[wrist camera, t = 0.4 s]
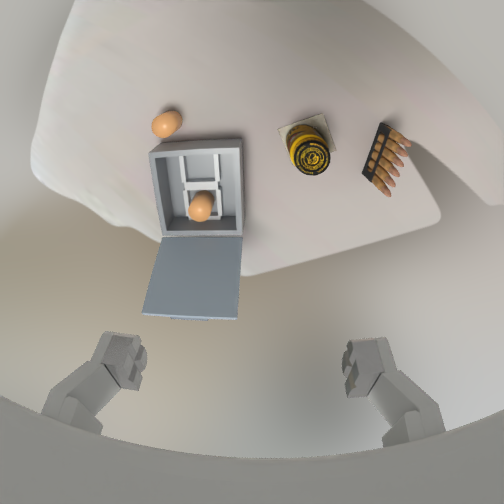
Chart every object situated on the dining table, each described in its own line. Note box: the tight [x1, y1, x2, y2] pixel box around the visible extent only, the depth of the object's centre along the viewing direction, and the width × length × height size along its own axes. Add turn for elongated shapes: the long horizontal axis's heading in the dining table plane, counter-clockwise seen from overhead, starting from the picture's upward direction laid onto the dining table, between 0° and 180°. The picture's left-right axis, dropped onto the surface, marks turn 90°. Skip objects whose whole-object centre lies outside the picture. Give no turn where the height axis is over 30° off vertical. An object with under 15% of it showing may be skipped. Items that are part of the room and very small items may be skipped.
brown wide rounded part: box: [152, 111, 182, 138], centre depth 45 cm, size 4×4×5 cm
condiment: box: [278, 113, 336, 175], centre depth 44 cm, size 7×8×12 cm
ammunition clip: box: [362, 123, 412, 197], centre depth 44 cm, size 11×2×12 cm, turn 167°
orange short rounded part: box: [188, 190, 215, 222], centre depth 53 cm, size 4×4×5 cm
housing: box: [149, 139, 245, 235], centre depth 51 cm, size 16×15×6 cm
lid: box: [142, 237, 243, 321], centre depth 49 cm, size 16×15×2 cm
